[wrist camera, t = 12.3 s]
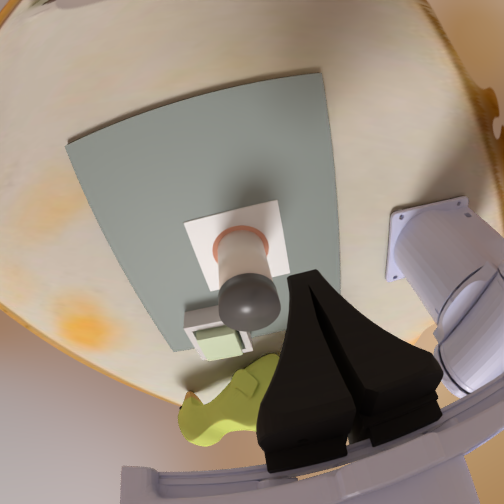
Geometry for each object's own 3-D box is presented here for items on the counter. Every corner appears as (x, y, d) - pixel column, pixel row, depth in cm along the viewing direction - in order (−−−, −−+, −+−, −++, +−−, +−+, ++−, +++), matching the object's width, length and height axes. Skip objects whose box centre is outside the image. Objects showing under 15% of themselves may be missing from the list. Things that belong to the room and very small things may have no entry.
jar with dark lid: (260, 223, 22) (276, 282, 17) (268, 263, 25) (284, 324, 19) (210, 235, 22) (211, 296, 17) (222, 273, 25) (227, 336, 19)
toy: (278, 297, 36) (160, 393, 35) (367, 388, 23) (198, 504, 21) (299, 323, 40) (191, 409, 38) (379, 405, 26) (234, 506, 24)
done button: (232, 312, 27) (233, 333, 25) (240, 334, 29) (242, 354, 27) (196, 319, 27) (196, 340, 25) (207, 341, 29) (208, 361, 27)
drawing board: (319, 72, 17) (332, 74, 15) (338, 312, 30) (346, 330, 28) (67, 144, 17) (52, 155, 15) (174, 348, 31) (172, 367, 29)
